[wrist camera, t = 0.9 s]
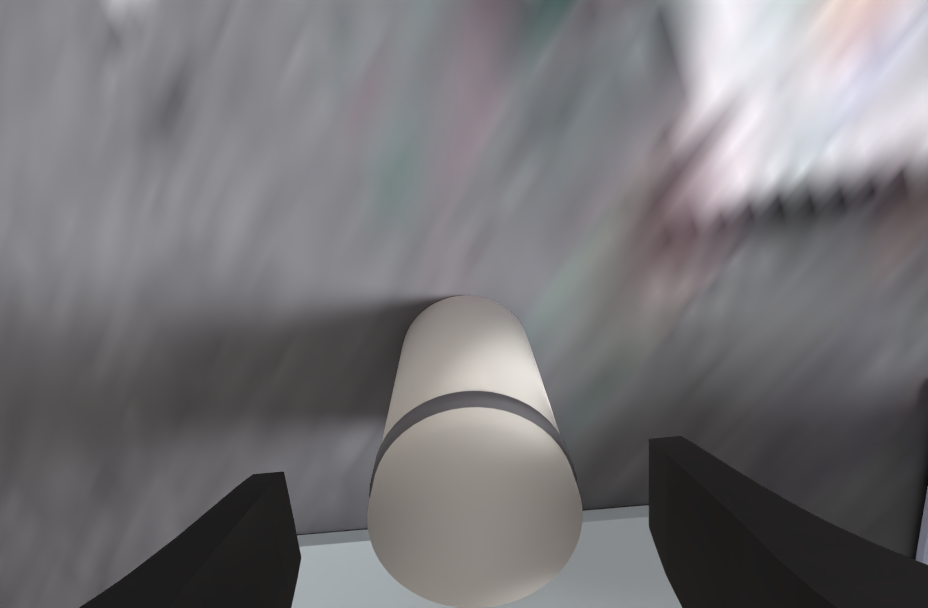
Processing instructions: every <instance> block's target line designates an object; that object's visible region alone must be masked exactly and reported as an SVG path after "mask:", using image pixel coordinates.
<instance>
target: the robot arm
mask: <svg viewBox="0 0 928 608" xmlns="http://www.w3.org/2000/svg"><path fill="white" fill-rule="evenodd" d="M649 529H650V532H651V535H652V538H653V541H654V544H655V547H656V549H657V552H658V555H659V558H660V561H661V563H662V566H663V569H664V571H665V574H666V576H667V578H668V580H669V582H670V584H671V586H672V588H673V590H674V592H675V594H676V596H677V598H678V600H679V602H680V604H681V606H682V608H928V488H927V494H926V500H925V506H924V512H923V518H922V524H921V530H920V536H919V542H918V548H917V554H916V560H914V559H911V558H908V557H906V556H903V555H901V554H898V553H896V552H893V551H891V550H888V549H886V548H883V547H881V546H879V545H876V544H874V543H872V542H870V541H868V540H865V539H863V538H861V537H859V536H857V535H854V534H852V533H850V532H848V531H845V530H843V529H841V528H839V527H837V526H835V525H833V524H831V523H829V522H827V521H825V520H823V519H821V518H819V517H817V516H815V515H813V514H811V513H809V512H807V511H805V510H804V509H802V508H800V507H798V506H796V505H794V504H792V503H791V502H789V501H787V500H785V499H783V498H782V497H780V496H778V495H776V494H775V493H773V492H771V491H769V490H768V489H766V488H764V487H763V486H761V485H759V484H757V483H756V482H754V481H753V480H751V479H749V478H748V477H746V476H744V475H743V474H741V473H739V472H738V471H736V470H735V469H733V468H731V467H730V466H728V465H727V464H725V463H724V462H722V461H720V460H719V459H717V458H716V457H714V456H713V455H711V454H709V453H708V452H706V451H705V450H703V449H701V448H700V447H698V446H697V445H695V444H693V443H692V442H690V441H688V440H687V439H685V438H683V437H681V436H677V437H666V438H655V439H649ZM300 563H301V553H300V548H299V543H298V539H297V534H296V529H295V524H294V519H293V514H292V509H291V504H290V499H289V495H288V490H287V485H286V480H285V475H284V472H274V473H263V474H253V475H252V476H250V477H249V478H247V479H246V480H245V481H243V482H242V483H241V484H240V485H238V486H237V487H236V488H235V489H234V490H232V491H231V492H230V493H229V494H228V495H226V496H225V497H224V498H223V499H222V500H220V501H219V502H218V503H217V504H216V505H215V506H213V507H212V508H211V509H210V510H209V511H207V512H206V513H205V514H204V515H203V516H201V517H200V518H199V519H198V520H197V521H196V522H194V523H193V524H192V525H191V526H190V527H188V528H187V529H186V530H185V531H184V532H182V533H181V534H180V535H179V536H177V537H176V538H175V539H174V540H172V541H171V542H170V543H168V544H167V545H166V546H165V547H163V548H162V549H161V550H159V551H158V552H157V553H156V554H154V555H153V556H152V557H150V558H149V559H148V560H146V561H145V562H144V563H143V564H141V565H140V566H139V567H137V568H136V569H135V570H133V571H132V572H131V573H129V574H128V575H127V576H125V577H124V578H123V579H121V580H120V581H118V582H117V583H115V584H114V585H113V586H111V587H110V588H108V589H107V590H105V591H104V592H102V593H101V594H99V595H98V596H96V597H95V598H93V599H92V600H90V601H89V602H87V603H86V604H84V605H83V606H81V607H80V608H291V607H292V602H293V598H294V593H295V589H296V584H297V579H298V573H299V568H300Z"/></svg>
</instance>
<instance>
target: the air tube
mask: <svg viewBox="0 0 928 608" xmlns="http://www.w3.org/2000/svg"><path fill="white" fill-rule="evenodd" d="M369 498H370V500H369V504H368V513H367V524H368V533H369V537H370V541H371V544H372V547H373V549H374V552H375V554H376V556H377V557H378V559H379V561H380V562H381V564H382V565H383V567H384V568H385V569H386V570H387V572H388V573H389V574H390V575H391V576H392V577H393V578H394V579H395V580H396V581H397V582H398V583H400V584H401V585H402V586H404V587H405V588H406V589H408V590H409V591H411V592H413V593H415V594H416V595H418V596H420V597H422V598H425V599H427V600H430V601H432V602H436V603H439V604H442V605H447V606H452V607H459V608H486V607H494V606H499V605H503V604H507V603H511V602H513V601H516V600H519V599H522V598H524V597H526V596H528V595H530V594H532V593H534V592H535V591H537V590H538V589H540V588H542V587H543V586H545V585H546V584H547V583H548V582H549V581H551V580H552V579H553V578H554V577H555V576H556V575H557V574H558V573H559V572H560V571H561V570H562V569H563V568H564V566H565V565H566V563H567V562H568V561H569V559H570V558H571V556H572V554H573V552H574V550H575V548H576V546H577V543H578V540H579V537H580V533H581V528H582V517H583V511H582V502H581V497H580V494H579V490H578V486H577V478H576V474H575V471H574V467H573V464H572V461H571V458H570V455H569V452H568V450H567V447H566V445H565V443H564V440H563V439H562V437H561V436H560V433H559V430H558V427H557V424H556V421H555V418H554V415H553V412H552V409H551V406H550V403H549V400H548V397H547V394H546V391H545V388H544V385H543V382H542V379H541V376H540V373H539V370H538V367H537V364H536V362H535V359H534V356H533V353H532V350H531V347H530V344H529V341H528V338H527V335H526V333H525V330H524V328H523V327H522V325H521V323H520V322H519V320H518V319H517V318H516V317H515V316H514V315H513V314H512V313H511V312H510V311H509V310H508V309H506V308H505V307H504V306H502V305H501V304H499V303H497V302H495V301H492V300H490V299H487V298H483V297H479V296H471V295H462V296H454V297H449V298H446V299H443V300H440V301H438V302H436V303H434V304H432V305H431V306H429V307H427V308H426V309H425V310H424V311H422V312H421V313H420V314H419V315H418V316H417V317H416V318H415V320H414V321H413V322H412V324H411V325H410V327H409V329H408V331H407V333H406V336H405V338H404V342H403V346H402V351H401V356H400V360H399V365H398V370H397V374H396V379H395V384H394V388H393V393H392V397H391V402H390V407H389V411H388V416H387V421H386V425H385V430H384V435H383V439H382V444H381V446H380V448H379V451H378V454H377V456H376V461H375V465H374V469H373V474H372V478H371V483H370V494H369Z"/></svg>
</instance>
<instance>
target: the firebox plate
mask: <svg viewBox="0 0 928 608" xmlns="http://www.w3.org/2000/svg"><path fill="white" fill-rule="evenodd" d="M297 539H298V543H299V548H300V553H301V563H300V568H299V573H298V579H297V584H296V589H295V593H294V598H293V602H292V607H291V608H459V607H452V606H447V605H442V604H439V603H436V602H432V601H430V600H427V599H425V598H422V597H420V596H418V595H416V594H415V593H413V592H411V591H409V590H408V589H406V588H405V587H404V586H402V585H401V584H400V583H398V582H397V581H396V580H395V579H394V578H393V577H392V576H391V575H390V574H389V573H388V572H387V570H386V569H385V568H384V567H383V565H382V564H381V562H380V561H379V559H378V557H377V556H376V554H375V552H374V549H373V547H372V544H371V541H370V537H369V533H368V529H366V530H354V531H342V532H331V533H319V534H307V535H297ZM486 608H682V606H681V604H680V602H679V600H678V598H677V596H676V594H675V592H674V590H673V588H672V586H671V584H670V582H669V580H668V578H667V576H666V574H665V571H664V569H663V566H662V563H661V561H660V558H659V555H658V552H657V549H656V547H655V544H654V541H653V538H652V535H651V532H650V529H649V505H644V506H633V507H621V508H610V509H598V510H586V511H583V517H582V528H581V533H580V537H579V540H578V543H577V546H576V548H575V550H574V552H573V554H572V556H571V558H570V559H569V561H568V562H567V563H566V565H565V566H564V568H563V569H562V570H561V571H560V572H559V573H558V574H557V575H556V576H555V577H554V578H553V579H552V580H551V581H549V582H548V583H547V584H546V585H545V586H543V587H542V588H540V589H538V590H537V591H535V592H534V593H532V594H530V595H528V596H526V597H524V598H522V599H519V600H516V601H513V602H511V603H507V604H503V605H499V606H494V607H486Z"/></svg>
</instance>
